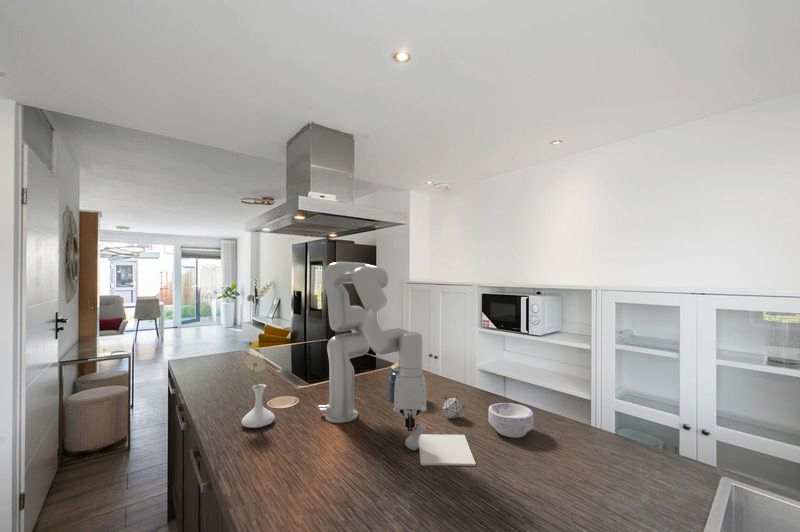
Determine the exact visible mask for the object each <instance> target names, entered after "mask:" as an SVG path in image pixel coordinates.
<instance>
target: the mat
mask: <svg viewBox="0 0 800 532" xmlns="http://www.w3.org/2000/svg"><path fill="white" fill-rule="evenodd" d="M418 449H419V461H420V466H455V467H456V466H460V467H461V466H464V467H465V466H466V467H473V466H474V467H476V464H477V463H476V461H475V458H474V455H473V453H472V451H471V448H470V445H469V443H468V440H467V438H466V435H465V434H437V433H436V434H432V433H431V434H430V433H429V434H426V433H422V434H421V435H420V438H419V446H418Z"/></svg>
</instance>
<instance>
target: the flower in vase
mask: <svg viewBox="0 0 800 532" xmlns="http://www.w3.org/2000/svg"><path fill="white" fill-rule="evenodd" d="M244 364H246V365H245V366H246V367H247V368H248V369H250V370H251V371H252V373H251V374H252V375H251V376H250V375H247V376H246V377H245V378H244V379H243V381H248V382H249V383H250V382H251V383H252V382H254V384H253V385H252V386H251V389H252V391H253V392H254V396H255V398H254V399H255V403H254V407H253V408H252V409H251V410H250V411H249V412H247V414H245V415H244V416H243V418H242V419H241V424H242V426H243V427H244V428H252V429H257V428H263V427H265V426H268V425H270V424H272V423H273V422H274V421H275V419H276V416H275V413H273V412H272V411H271V410H269V409H267V408H265V406H263V394H264V391H265V388H266V387H267V385H266V384H264V383H261V382H263V381H264V380H265V379H266V377H262V378H260V379H259V380H258V381H256V380H255V378H254V373H255V372H260V371H264V370H266V368H267V362H266V360H265V358H263V357H260V356H259V355H258V354H257V355H255V354H252V355H251V354H250V355H249V356H246V358H245V359H244ZM254 371H255V372H254ZM259 383H261V384H259Z"/></svg>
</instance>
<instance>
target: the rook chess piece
mask: <svg viewBox="0 0 800 532" xmlns="http://www.w3.org/2000/svg"><path fill="white" fill-rule="evenodd" d="M413 429H414V430H413V431H412V433H411V435H409V436H408V437H406V439H405V441H404V445H405V447H407V448H408V449H409V450H410V451H416V450H418V448H419V438H420V435H421V434H423V431H425V430H426V424H425V423H424V422H422V421H418V422H417V423H415V428H413Z"/></svg>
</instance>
